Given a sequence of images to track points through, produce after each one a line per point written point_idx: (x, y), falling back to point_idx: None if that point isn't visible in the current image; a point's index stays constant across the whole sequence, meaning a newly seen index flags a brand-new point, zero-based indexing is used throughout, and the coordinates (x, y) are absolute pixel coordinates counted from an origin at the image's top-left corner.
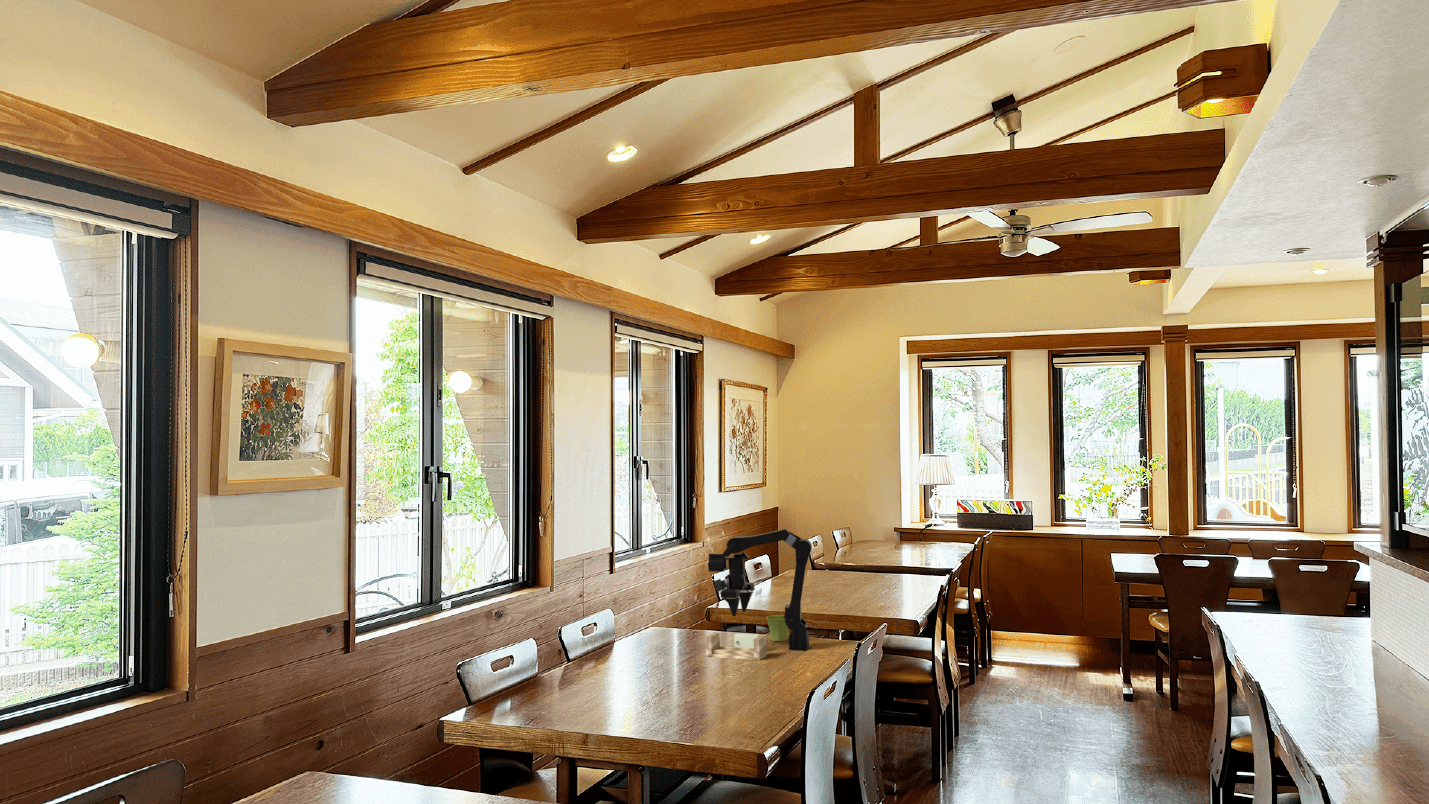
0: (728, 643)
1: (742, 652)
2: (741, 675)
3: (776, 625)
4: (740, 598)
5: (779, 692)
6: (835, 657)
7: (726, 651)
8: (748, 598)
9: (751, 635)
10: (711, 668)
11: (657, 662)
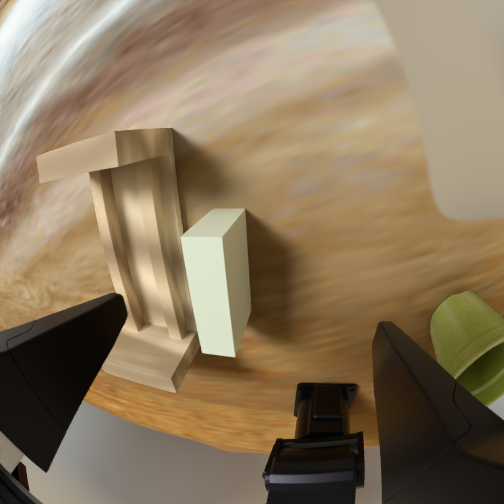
0: (375, 113)
1: (117, 290)
2: (39, 311)
3: None
4: (446, 438)
5: None
6: (246, 447)
7: (101, 229)
8: (383, 496)
9: (202, 329)
10: (30, 233)
11: (25, 65)
